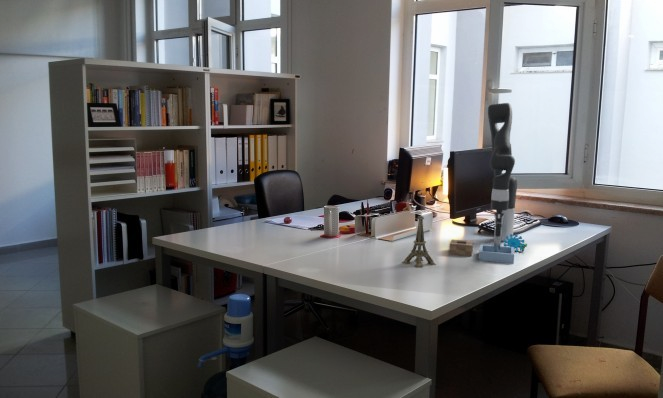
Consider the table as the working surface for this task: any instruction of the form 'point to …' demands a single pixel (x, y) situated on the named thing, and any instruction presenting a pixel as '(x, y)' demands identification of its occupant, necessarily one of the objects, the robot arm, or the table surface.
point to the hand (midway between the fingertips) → (497, 234)
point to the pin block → (461, 247)
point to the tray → (496, 254)
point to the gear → (515, 242)
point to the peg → (497, 243)
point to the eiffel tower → (419, 247)
